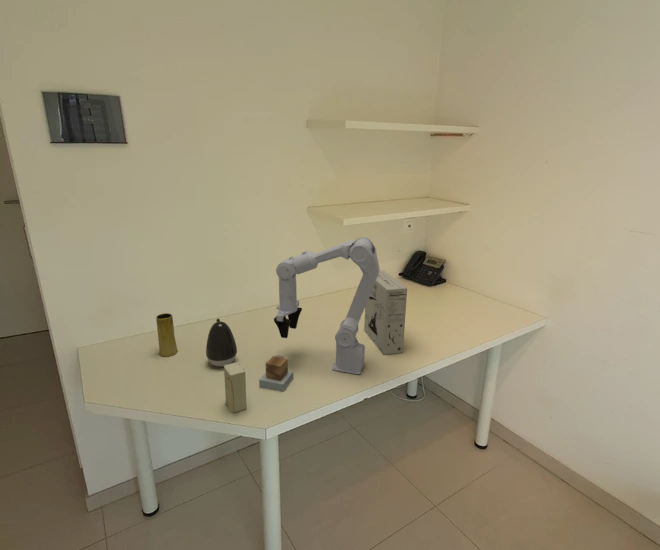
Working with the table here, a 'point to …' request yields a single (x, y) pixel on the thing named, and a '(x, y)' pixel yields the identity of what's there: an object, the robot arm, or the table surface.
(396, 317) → the product box
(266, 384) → the slate plinth
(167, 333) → the vase
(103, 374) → the table surface
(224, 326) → the black egg shape
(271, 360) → the walnut cube
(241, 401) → the skincare box
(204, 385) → the table surface
